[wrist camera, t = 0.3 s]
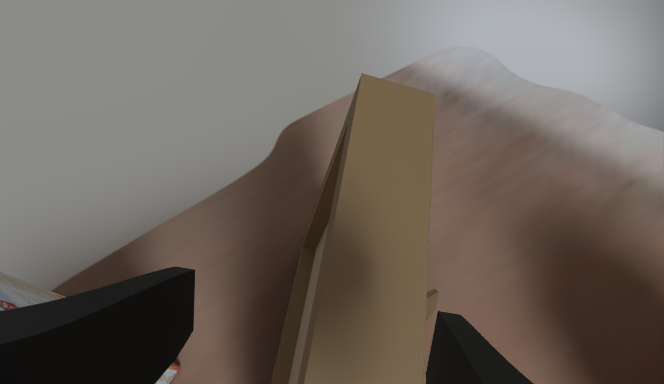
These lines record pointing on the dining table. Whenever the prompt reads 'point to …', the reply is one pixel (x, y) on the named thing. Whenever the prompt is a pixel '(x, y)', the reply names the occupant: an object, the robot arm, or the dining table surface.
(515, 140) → the dining table surface
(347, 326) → the photo frame
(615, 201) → the dining table surface
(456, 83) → the dining table surface
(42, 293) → the cracker box
